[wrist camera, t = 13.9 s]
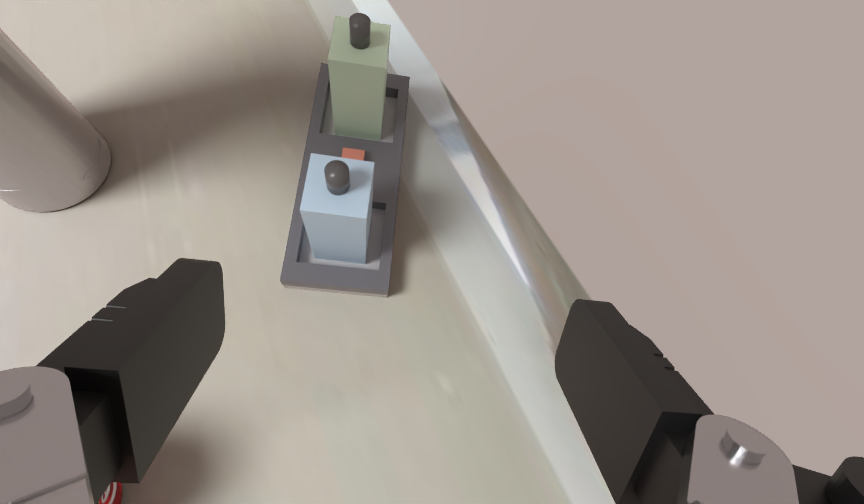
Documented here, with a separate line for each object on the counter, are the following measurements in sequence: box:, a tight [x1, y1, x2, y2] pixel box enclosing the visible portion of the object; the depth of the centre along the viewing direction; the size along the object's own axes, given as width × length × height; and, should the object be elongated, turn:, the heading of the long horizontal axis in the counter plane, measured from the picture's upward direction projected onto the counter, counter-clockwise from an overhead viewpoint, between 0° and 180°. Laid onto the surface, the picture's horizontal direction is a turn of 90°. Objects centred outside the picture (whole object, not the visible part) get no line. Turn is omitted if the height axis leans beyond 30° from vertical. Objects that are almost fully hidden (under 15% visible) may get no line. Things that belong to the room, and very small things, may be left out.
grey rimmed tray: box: [280, 63, 410, 297], centre depth 42 cm, size 9×23×3 cm, turn 176°
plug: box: [300, 153, 374, 264], centre depth 34 cm, size 4×4×12 cm
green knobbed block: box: [328, 13, 391, 141], centre depth 39 cm, size 4×4×12 cm
